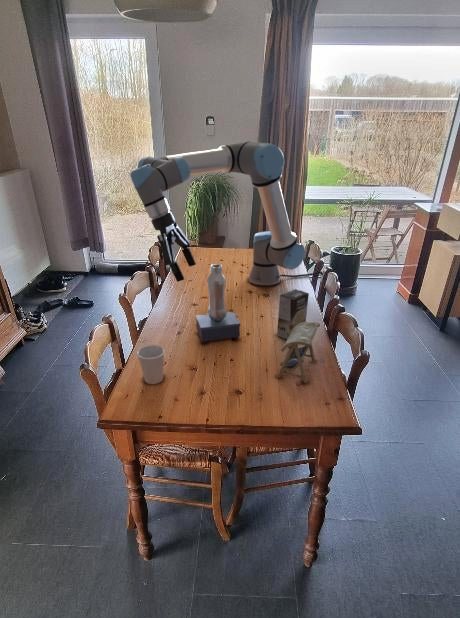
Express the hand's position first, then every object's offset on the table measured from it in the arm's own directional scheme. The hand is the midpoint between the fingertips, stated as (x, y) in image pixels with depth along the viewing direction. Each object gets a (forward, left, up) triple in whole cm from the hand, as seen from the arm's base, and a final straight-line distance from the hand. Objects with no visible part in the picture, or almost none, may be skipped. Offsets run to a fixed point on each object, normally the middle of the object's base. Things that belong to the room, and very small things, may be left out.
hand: (187, 272), depth 154 cm
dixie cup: (+17, +32, -23) cm, 43 cm away
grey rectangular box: (-9, +9, -22) cm, 26 cm away
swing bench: (-29, +38, -23) cm, 53 cm away
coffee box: (-36, +14, -23) cm, 45 cm away
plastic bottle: (-9, +9, -16) cm, 20 cm away
